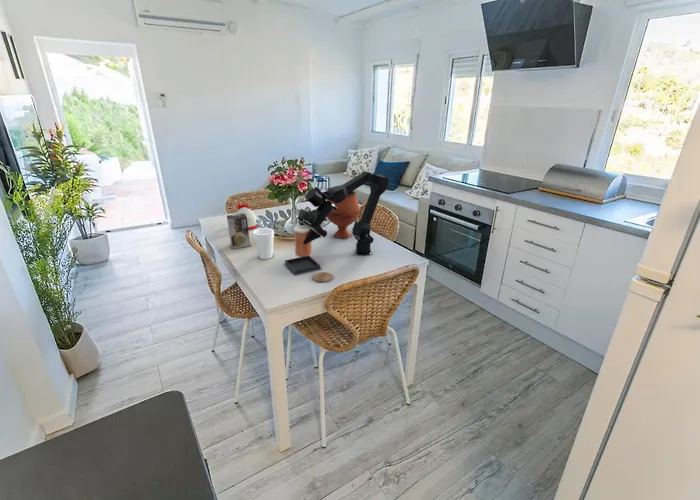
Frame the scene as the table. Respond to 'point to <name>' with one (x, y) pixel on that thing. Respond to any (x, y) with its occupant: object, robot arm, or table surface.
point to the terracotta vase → (344, 214)
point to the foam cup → (264, 242)
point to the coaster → (322, 277)
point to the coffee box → (238, 230)
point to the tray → (302, 264)
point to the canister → (299, 237)
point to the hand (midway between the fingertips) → (300, 241)
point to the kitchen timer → (248, 215)
